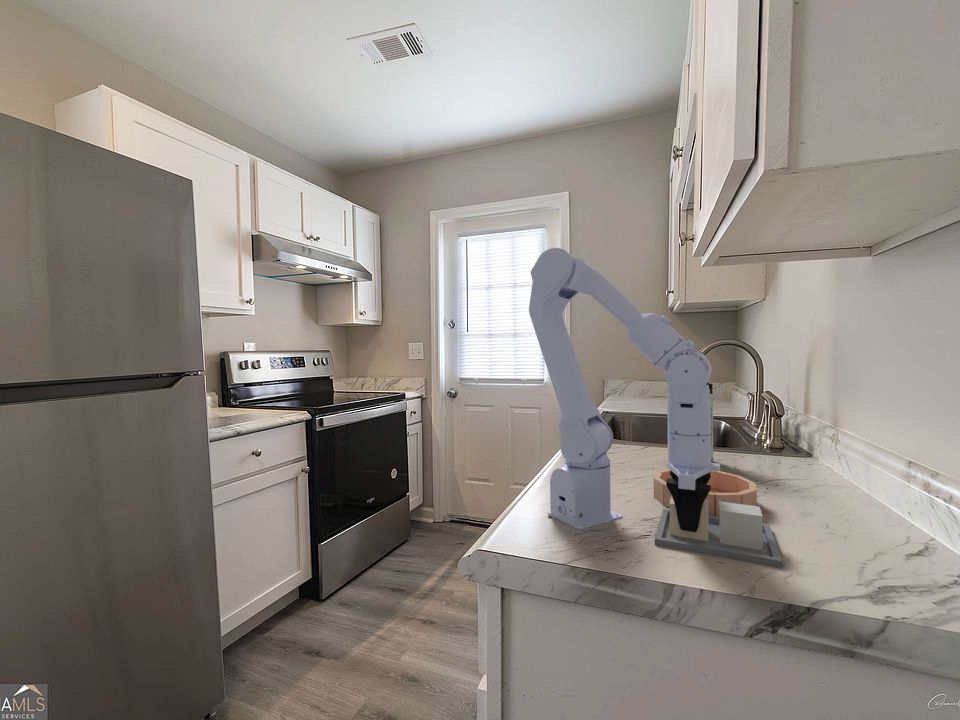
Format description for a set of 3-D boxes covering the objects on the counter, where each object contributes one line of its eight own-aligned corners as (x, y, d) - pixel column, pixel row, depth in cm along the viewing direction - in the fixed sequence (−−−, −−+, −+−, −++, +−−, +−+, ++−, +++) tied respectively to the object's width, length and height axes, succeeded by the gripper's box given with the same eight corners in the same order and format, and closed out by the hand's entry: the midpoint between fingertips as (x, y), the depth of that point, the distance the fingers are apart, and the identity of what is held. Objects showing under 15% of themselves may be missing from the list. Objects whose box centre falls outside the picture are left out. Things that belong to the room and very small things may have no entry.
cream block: (669, 534, 63) (669, 503, 63) (671, 524, 67) (671, 495, 67) (708, 541, 61) (708, 508, 61) (708, 530, 64) (708, 499, 64)
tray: (781, 570, 53) (781, 561, 53) (654, 547, 60) (654, 538, 60) (769, 532, 64) (769, 524, 64) (663, 516, 71) (663, 508, 71)
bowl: (720, 527, 67) (720, 501, 66) (636, 497, 80) (635, 476, 80) (775, 507, 75) (775, 484, 74) (689, 483, 88) (689, 464, 88)
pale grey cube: (719, 543, 60) (719, 510, 60) (719, 532, 64) (719, 501, 64) (762, 550, 58) (762, 516, 58) (759, 538, 61) (759, 506, 61)
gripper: (721, 444, 55) (721, 550, 55) (719, 426, 68) (719, 512, 68) (661, 439, 59) (662, 539, 59) (670, 423, 71) (670, 505, 72)
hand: (689, 524), depth 64 cm, fingers closed on cream block, 4 cm apart
